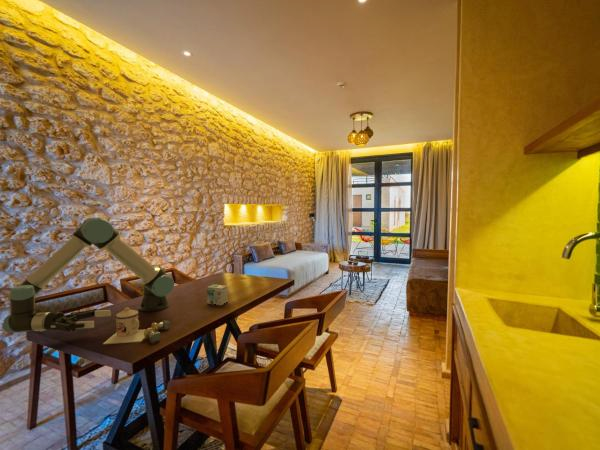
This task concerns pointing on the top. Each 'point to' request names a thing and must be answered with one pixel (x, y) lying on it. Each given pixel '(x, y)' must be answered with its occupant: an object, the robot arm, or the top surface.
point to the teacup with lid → (127, 322)
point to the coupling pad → (126, 338)
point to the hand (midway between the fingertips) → (102, 318)
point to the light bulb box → (217, 294)
